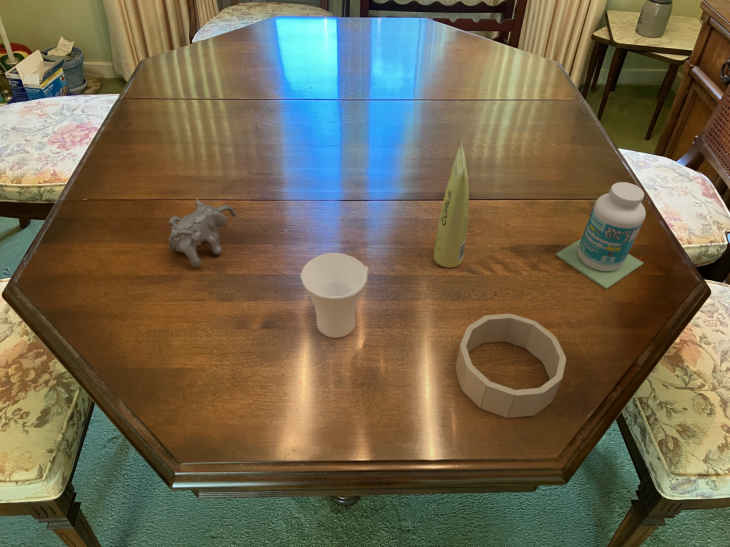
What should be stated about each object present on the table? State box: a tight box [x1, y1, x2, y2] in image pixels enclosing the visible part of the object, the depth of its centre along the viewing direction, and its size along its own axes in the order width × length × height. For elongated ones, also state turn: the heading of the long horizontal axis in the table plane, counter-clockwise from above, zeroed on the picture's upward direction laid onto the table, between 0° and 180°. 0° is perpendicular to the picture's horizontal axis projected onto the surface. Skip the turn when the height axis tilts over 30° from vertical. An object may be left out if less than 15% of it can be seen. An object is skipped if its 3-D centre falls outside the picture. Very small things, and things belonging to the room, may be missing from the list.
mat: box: [554, 238, 644, 290], centre depth 91 cm, size 10×10×1 cm
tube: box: [433, 141, 470, 269], centre depth 84 cm, size 6×5×20 cm
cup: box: [299, 252, 370, 339], centre depth 77 cm, size 9×9×10 cm
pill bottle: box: [578, 181, 647, 271], centre depth 86 cm, size 8×7×14 cm
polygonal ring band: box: [454, 313, 567, 419], centre depth 72 cm, size 13×13×5 cm
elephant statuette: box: [168, 198, 237, 269], centre depth 90 cm, size 9×12×8 cm
